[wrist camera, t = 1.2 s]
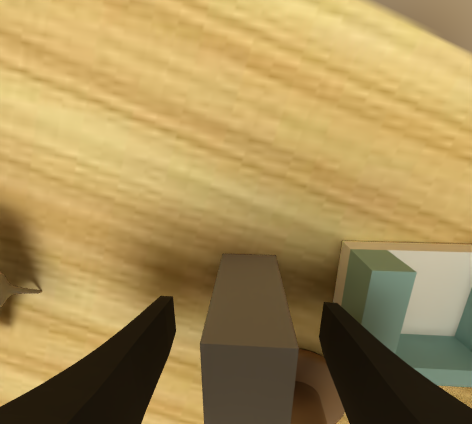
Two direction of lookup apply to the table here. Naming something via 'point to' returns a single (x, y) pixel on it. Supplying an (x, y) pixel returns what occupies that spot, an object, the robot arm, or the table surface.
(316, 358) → the bobbin
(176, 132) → the table surface
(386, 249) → the notch board
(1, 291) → the grey animal figure
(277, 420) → the plug
